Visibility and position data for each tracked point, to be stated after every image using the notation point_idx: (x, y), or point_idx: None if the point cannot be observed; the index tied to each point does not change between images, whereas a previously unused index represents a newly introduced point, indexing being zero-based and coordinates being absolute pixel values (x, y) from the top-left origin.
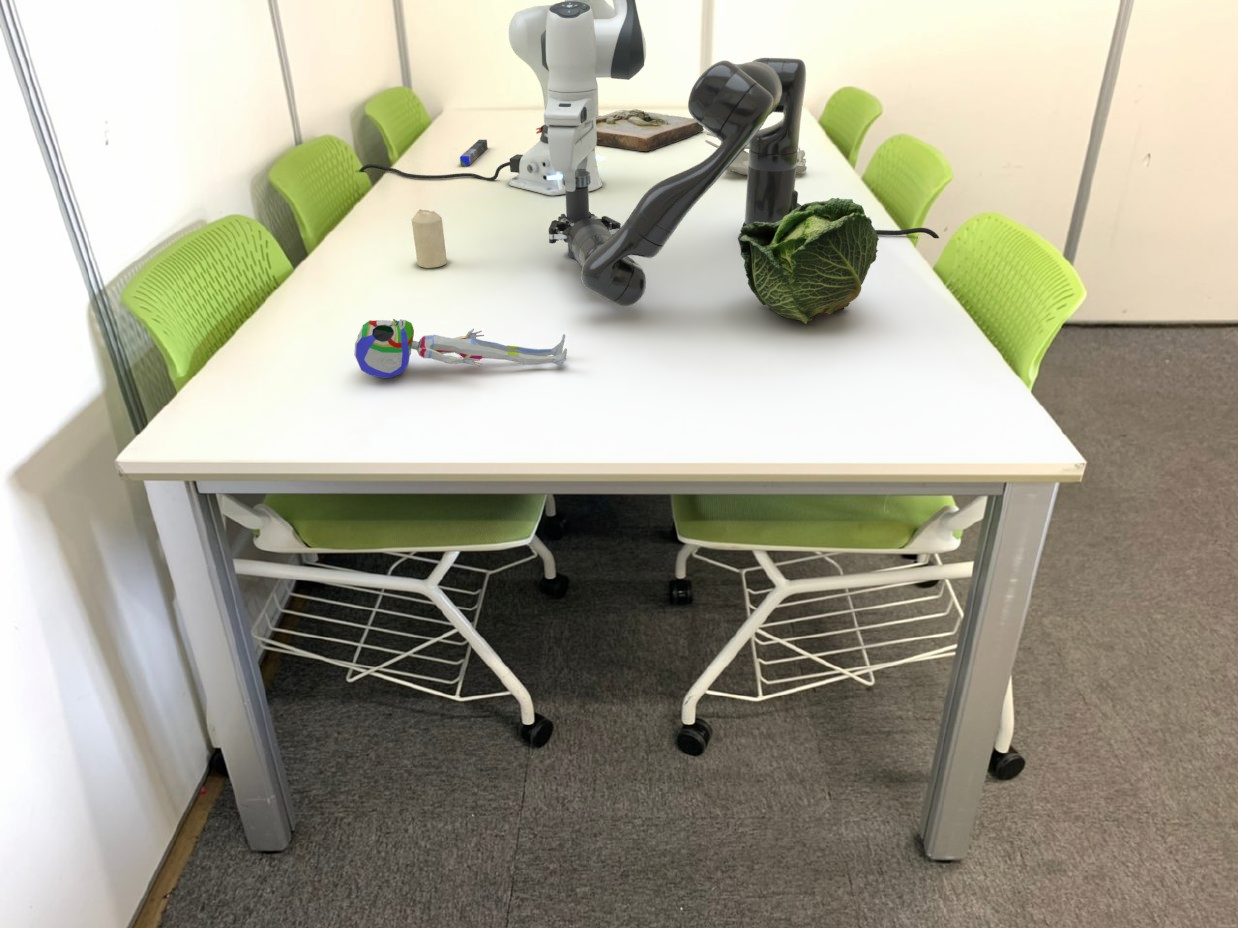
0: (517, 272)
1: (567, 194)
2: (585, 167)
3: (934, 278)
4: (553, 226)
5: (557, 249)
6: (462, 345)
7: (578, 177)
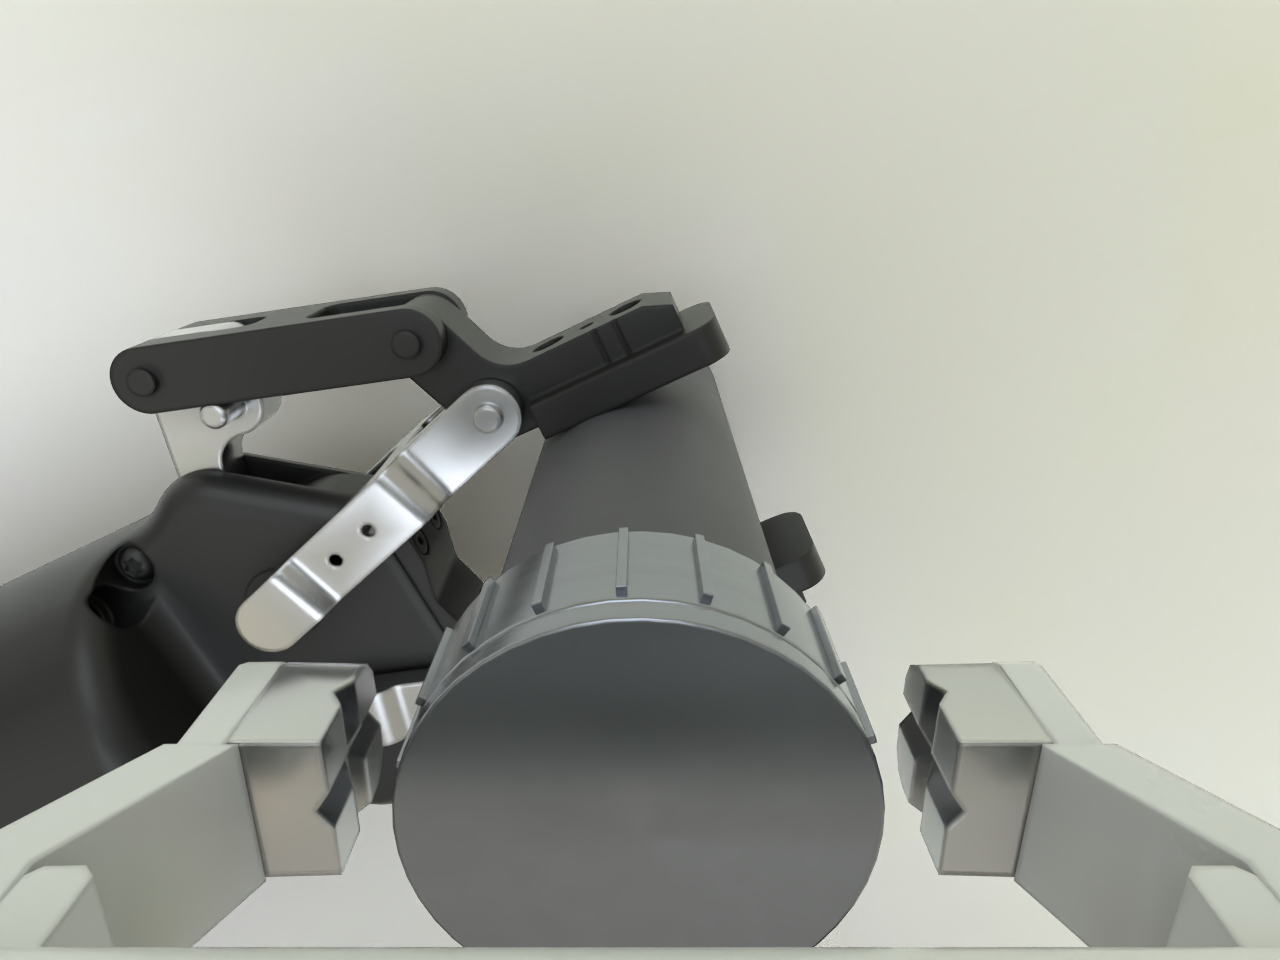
0: (174, 28)
1: (521, 556)
2: (1042, 893)
3: None
4: (239, 372)
5: (751, 204)
6: None
7: (428, 898)
